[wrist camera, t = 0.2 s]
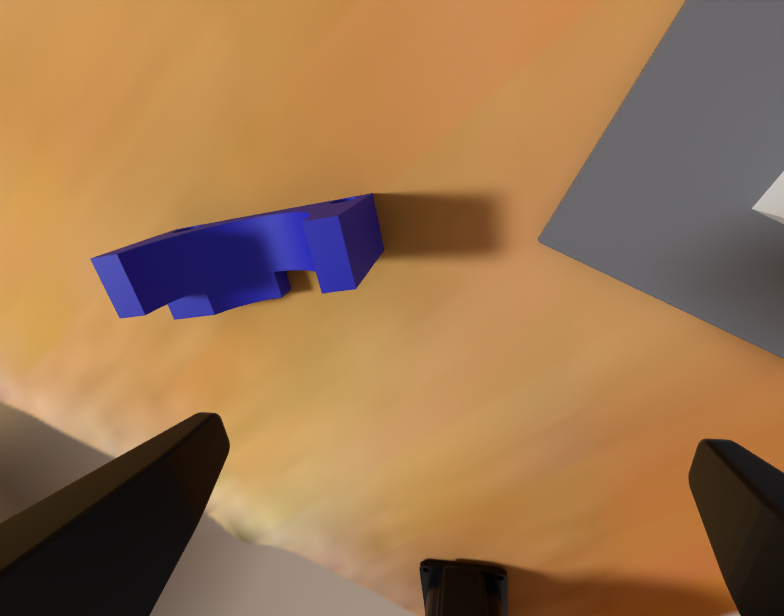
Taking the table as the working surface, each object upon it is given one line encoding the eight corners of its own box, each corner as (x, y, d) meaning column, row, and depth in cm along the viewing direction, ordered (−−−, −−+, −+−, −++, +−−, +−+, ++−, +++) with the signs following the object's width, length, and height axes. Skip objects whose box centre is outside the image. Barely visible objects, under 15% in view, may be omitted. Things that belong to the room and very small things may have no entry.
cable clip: (206, 299, 25) (133, 345, 20) (178, 228, 23) (90, 258, 18) (390, 274, 22) (363, 322, 17) (373, 192, 20) (338, 215, 15)
